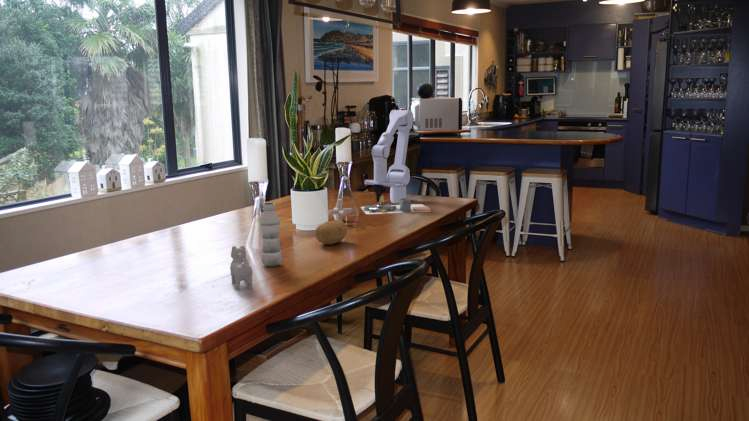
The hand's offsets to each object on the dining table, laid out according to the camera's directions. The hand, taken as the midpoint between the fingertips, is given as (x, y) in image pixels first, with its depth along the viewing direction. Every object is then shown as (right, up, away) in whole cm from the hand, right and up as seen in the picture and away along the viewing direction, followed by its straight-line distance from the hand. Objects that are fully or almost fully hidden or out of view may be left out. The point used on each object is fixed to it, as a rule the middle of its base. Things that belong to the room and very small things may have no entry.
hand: (379, 201), depth 279 cm
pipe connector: (-17, -10, -25) cm, 32 cm away
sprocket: (0, -4, -4) cm, 5 cm away
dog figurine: (-41, -26, -101) cm, 112 cm away
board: (+7, -4, -2) cm, 9 cm away
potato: (-18, -16, -57) cm, 62 cm away
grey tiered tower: (-35, -22, -83) cm, 92 cm away
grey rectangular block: (+11, -4, -7) cm, 14 cm away
